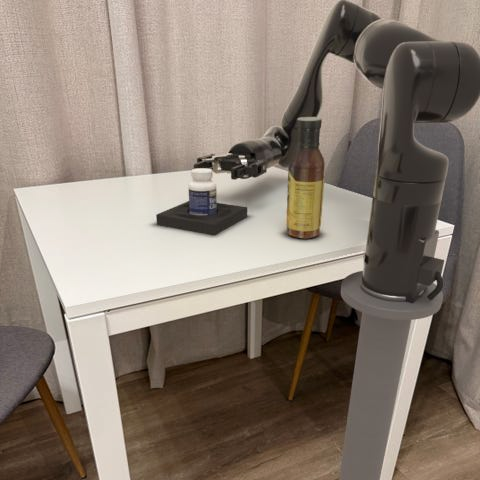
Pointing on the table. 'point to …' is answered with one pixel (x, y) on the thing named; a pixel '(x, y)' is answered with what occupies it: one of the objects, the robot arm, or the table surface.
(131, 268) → the table surface
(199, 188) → the pill bottle
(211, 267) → the table surface
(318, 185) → the sauce bottle
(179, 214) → the dock pad
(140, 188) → the table surface
